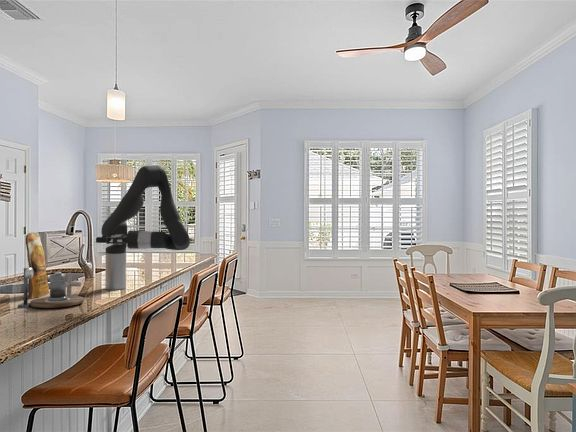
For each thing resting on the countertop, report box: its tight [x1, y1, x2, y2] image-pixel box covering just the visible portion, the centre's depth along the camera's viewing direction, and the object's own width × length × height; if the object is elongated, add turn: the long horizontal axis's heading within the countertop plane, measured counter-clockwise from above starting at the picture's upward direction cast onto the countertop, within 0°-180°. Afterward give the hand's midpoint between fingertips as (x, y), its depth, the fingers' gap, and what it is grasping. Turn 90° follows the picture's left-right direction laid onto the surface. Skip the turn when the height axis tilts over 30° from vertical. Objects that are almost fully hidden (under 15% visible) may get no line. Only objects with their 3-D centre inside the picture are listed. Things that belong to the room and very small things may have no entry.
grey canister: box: [47, 271, 68, 302], centre depth 179 cm, size 7×7×11 cm
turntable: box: [29, 295, 85, 309], centre depth 179 cm, size 19×19×2 cm
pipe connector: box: [66, 272, 82, 296], centre depth 199 cm, size 10×10×10 cm
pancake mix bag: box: [25, 232, 50, 299], centre depth 199 cm, size 7×19×28 cm, turn 8°
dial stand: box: [17, 267, 33, 309], centre depth 175 cm, size 4×4×15 cm
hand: (99, 239), depth 183 cm, fingers open, 8 cm apart
